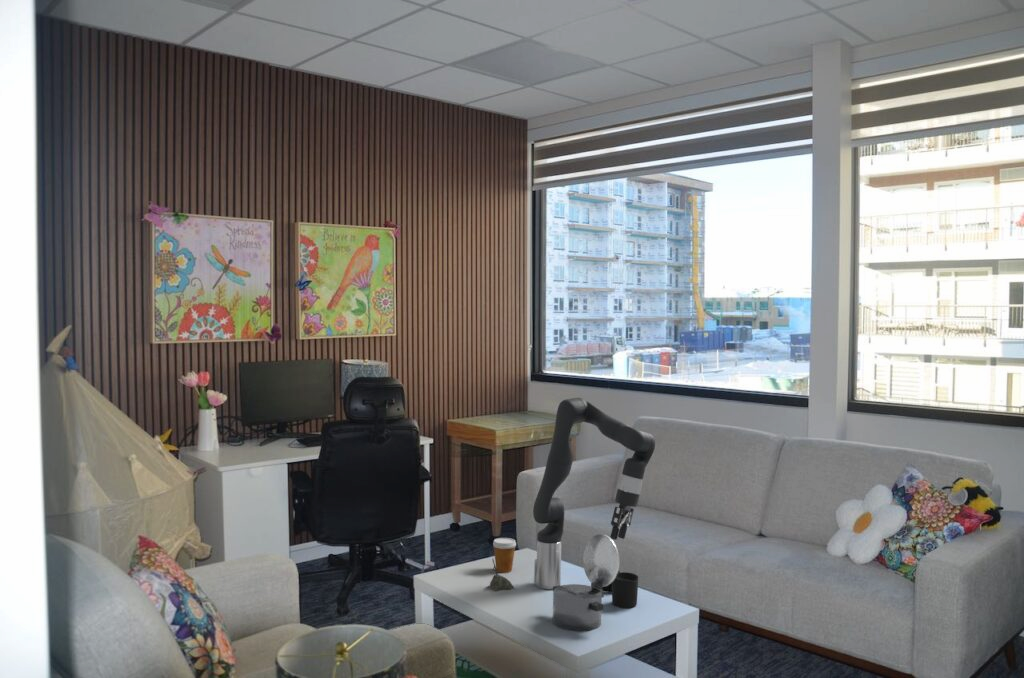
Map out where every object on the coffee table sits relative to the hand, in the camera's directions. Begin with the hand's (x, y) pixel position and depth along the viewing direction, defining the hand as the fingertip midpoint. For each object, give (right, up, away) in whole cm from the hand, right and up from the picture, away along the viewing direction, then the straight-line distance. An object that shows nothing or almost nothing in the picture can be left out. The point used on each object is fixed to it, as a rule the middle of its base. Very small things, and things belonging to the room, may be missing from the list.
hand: (617, 538), depth 259 cm
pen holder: (+5, -29, +21) cm, 36 cm away
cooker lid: (-5, -10, +7) cm, 13 cm away
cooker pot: (-13, -28, +2) cm, 31 cm away
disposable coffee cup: (-38, -28, +58) cm, 74 cm away
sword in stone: (-39, -28, +36) cm, 60 cm away
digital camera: (+1, -29, +36) cm, 46 cm away
